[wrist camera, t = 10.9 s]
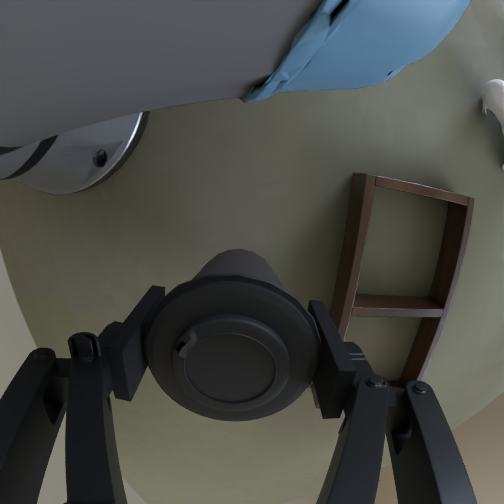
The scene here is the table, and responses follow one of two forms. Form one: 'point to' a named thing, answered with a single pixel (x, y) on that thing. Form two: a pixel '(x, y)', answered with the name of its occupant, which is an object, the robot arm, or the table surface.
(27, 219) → the table surface
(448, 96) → the table surface
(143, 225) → the table surface
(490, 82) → the white lumpy figurine
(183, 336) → the coffee cup
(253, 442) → the table surface
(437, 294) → the frame
